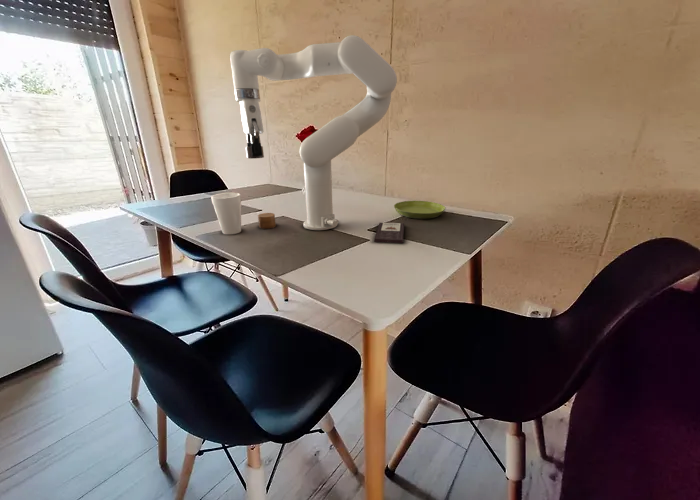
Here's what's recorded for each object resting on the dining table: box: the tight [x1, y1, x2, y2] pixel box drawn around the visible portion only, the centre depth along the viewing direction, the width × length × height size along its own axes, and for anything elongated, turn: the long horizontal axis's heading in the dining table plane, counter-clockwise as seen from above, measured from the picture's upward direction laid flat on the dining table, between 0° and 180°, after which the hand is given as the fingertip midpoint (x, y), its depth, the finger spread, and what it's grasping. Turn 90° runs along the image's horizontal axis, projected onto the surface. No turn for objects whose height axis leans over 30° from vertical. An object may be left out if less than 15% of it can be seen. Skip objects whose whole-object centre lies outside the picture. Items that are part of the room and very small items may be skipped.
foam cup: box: [210, 192, 242, 235], centre depth 109 cm, size 10×9×13 cm
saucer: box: [393, 200, 446, 220], centre depth 128 cm, size 21×21×3 cm
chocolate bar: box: [373, 222, 405, 244], centre depth 106 cm, size 9×1×18 cm
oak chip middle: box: [257, 212, 276, 223], centre depth 115 cm, size 6×6×2 cm
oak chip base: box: [258, 220, 277, 230], centre depth 116 cm, size 6×6×2 cm
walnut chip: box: [245, 145, 265, 160], centre depth 106 cm, size 6×6×4 cm
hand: (255, 154), depth 106 cm, fingers closed on walnut chip, 5 cm apart
